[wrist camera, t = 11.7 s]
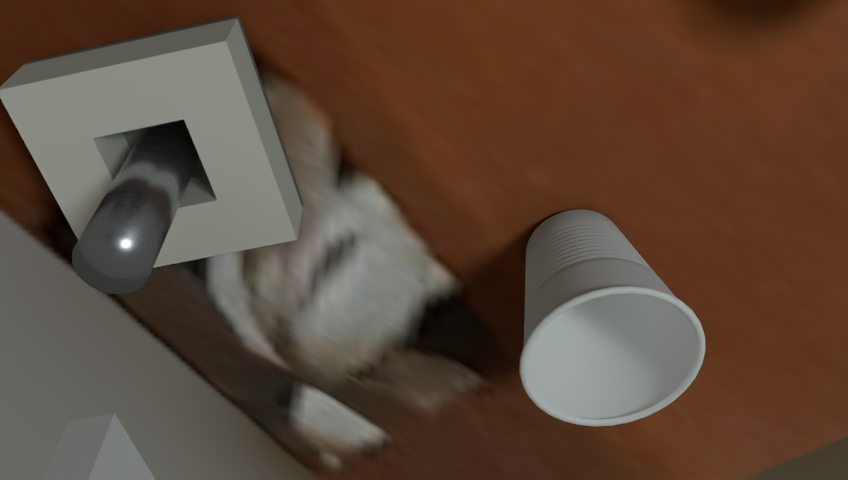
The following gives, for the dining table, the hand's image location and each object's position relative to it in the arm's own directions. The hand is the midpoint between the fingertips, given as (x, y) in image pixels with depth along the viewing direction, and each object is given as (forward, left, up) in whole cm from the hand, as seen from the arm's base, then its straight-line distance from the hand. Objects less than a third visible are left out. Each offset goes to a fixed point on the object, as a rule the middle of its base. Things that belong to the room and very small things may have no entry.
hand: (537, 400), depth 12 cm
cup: (+21, +5, -33) cm, 39 cm away
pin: (+8, -17, -32) cm, 37 cm away
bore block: (+8, -17, -33) cm, 38 cm away
